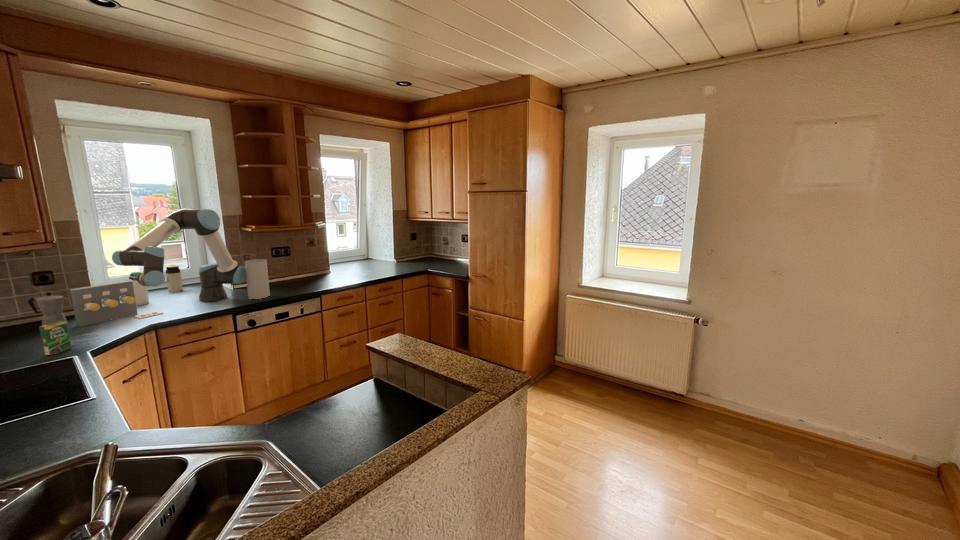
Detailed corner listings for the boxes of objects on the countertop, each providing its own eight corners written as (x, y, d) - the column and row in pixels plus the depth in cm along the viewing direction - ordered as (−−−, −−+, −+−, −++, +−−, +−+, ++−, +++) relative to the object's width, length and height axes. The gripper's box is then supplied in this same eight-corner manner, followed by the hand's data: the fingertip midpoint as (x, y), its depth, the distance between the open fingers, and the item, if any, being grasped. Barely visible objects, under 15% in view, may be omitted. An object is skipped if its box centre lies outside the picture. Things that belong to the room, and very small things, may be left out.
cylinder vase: (261, 300, 249) (257, 262, 244) (243, 299, 251) (240, 261, 246) (274, 295, 261) (271, 259, 256) (257, 294, 263) (254, 258, 258)
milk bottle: (152, 302, 241) (148, 271, 237) (140, 305, 233) (135, 273, 230) (141, 301, 242) (136, 270, 238) (129, 305, 234) (124, 273, 230)
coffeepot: (78, 322, 202) (71, 289, 198) (64, 328, 193) (57, 293, 189) (41, 324, 198) (34, 290, 194) (25, 330, 189) (17, 295, 186)
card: (163, 313, 219) (163, 312, 219) (140, 318, 209) (139, 317, 209) (157, 312, 221) (157, 310, 221) (134, 317, 212) (133, 316, 211)
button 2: (136, 303, 211) (134, 296, 210) (127, 304, 207) (125, 297, 207) (128, 301, 214) (127, 294, 213) (119, 303, 210) (118, 296, 210)
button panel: (137, 314, 217) (132, 281, 213) (80, 326, 196) (73, 290, 192) (133, 313, 219) (128, 280, 215) (76, 325, 197) (69, 289, 194)
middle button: (118, 306, 204) (117, 299, 203) (109, 308, 201) (108, 300, 200) (111, 304, 207) (110, 297, 206) (102, 306, 204) (100, 299, 203)
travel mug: (182, 289, 275) (179, 264, 272) (183, 291, 269) (179, 266, 266) (168, 290, 270) (164, 265, 267) (168, 292, 264) (165, 267, 261)
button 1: (100, 310, 197) (99, 302, 197) (90, 312, 194) (88, 304, 193) (93, 308, 200) (92, 300, 200) (83, 310, 197) (81, 302, 196)
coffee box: (49, 356, 160) (43, 326, 158) (44, 356, 161) (37, 326, 158) (72, 349, 168) (67, 320, 165) (67, 348, 168) (61, 320, 166)
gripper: (129, 283, 189) (120, 283, 204) (162, 288, 199) (151, 288, 213) (134, 268, 190) (125, 269, 205) (166, 274, 200) (155, 275, 215)
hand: (138, 279), depth 209 cm, fingers closed
